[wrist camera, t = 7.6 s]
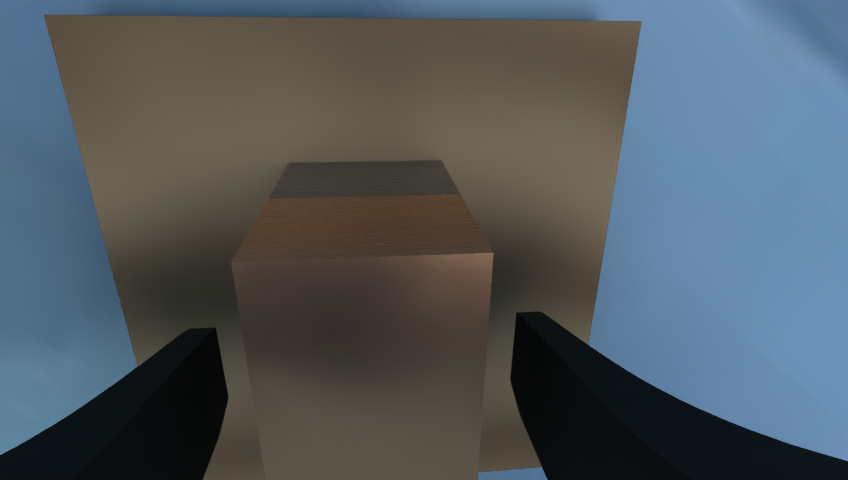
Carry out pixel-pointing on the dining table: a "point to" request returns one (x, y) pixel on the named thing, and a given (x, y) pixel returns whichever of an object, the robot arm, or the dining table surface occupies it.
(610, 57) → the walnut stand
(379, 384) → the brown rectangular block
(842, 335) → the dining table surface
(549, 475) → the robot arm
